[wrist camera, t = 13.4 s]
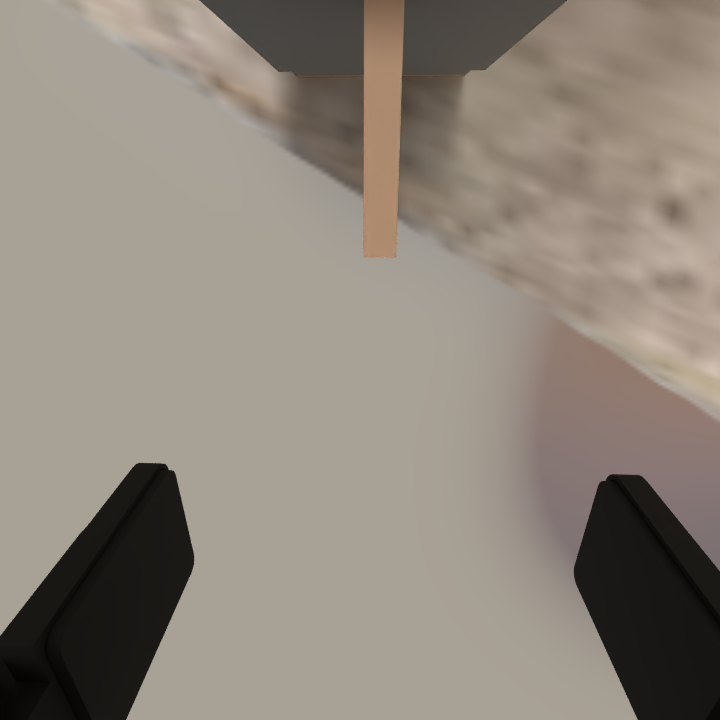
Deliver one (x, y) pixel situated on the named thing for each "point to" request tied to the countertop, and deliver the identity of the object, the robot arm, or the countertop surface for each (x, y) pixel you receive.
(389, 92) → the lid
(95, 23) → the countertop surface
